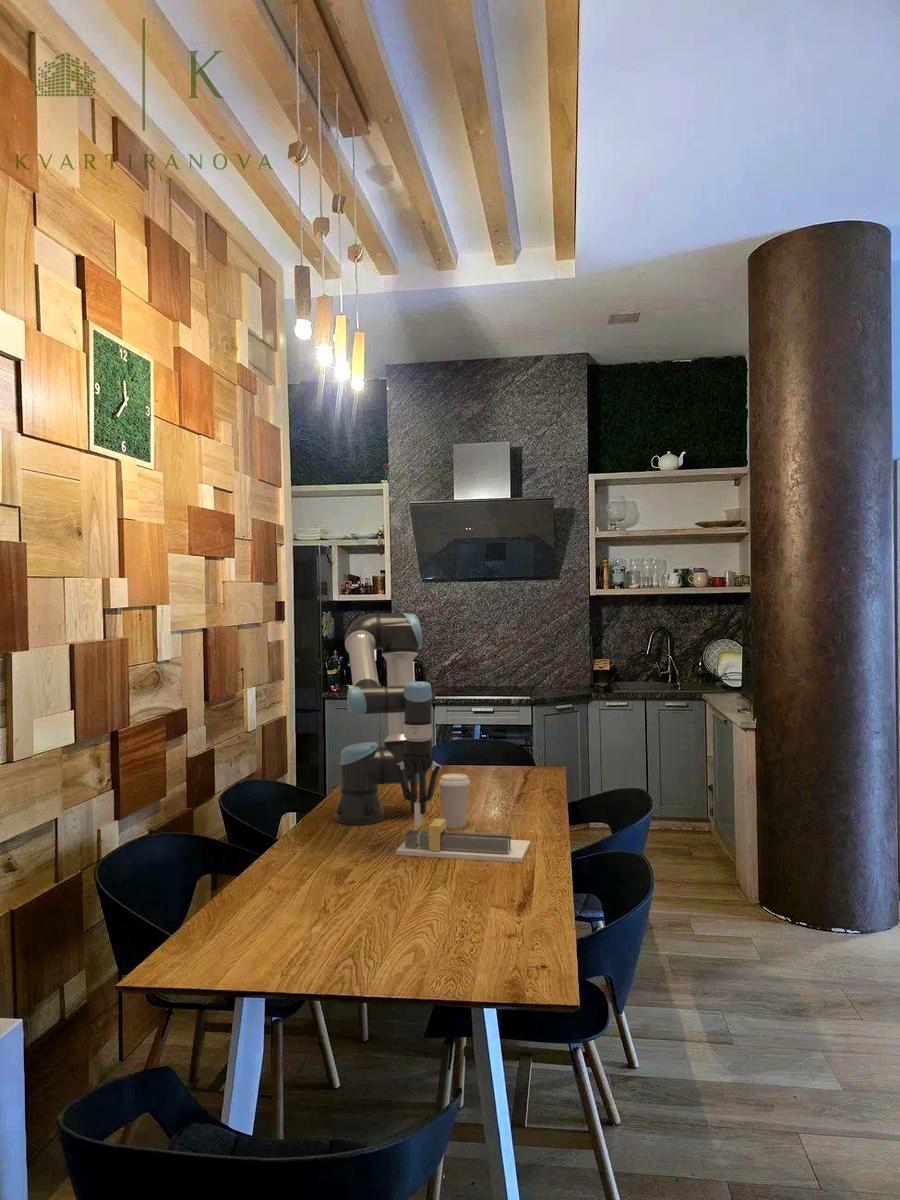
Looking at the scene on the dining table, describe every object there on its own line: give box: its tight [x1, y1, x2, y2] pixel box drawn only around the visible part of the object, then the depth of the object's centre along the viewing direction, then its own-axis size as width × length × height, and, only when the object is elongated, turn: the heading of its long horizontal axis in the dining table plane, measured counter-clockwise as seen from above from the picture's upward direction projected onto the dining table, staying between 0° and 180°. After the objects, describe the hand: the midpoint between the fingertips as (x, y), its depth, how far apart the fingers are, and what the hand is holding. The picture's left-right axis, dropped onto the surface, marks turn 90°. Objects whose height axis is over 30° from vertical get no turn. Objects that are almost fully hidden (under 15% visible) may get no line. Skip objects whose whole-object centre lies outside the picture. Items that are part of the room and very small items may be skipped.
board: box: [395, 839, 531, 863], centre depth 228 cm, size 34×16×1 cm, turn 77°
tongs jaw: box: [421, 830, 512, 850], centre depth 226 cm, size 24×2×4 cm, turn 79°
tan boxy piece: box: [428, 818, 447, 851], centre depth 227 cm, size 3×8×6 cm, turn 167°
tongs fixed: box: [404, 829, 509, 854], centre depth 225 cm, size 28×4×4 cm, turn 77°
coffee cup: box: [438, 773, 471, 830], centre depth 253 cm, size 10×10×15 cm
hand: (418, 825), depth 228 cm, fingers closed
